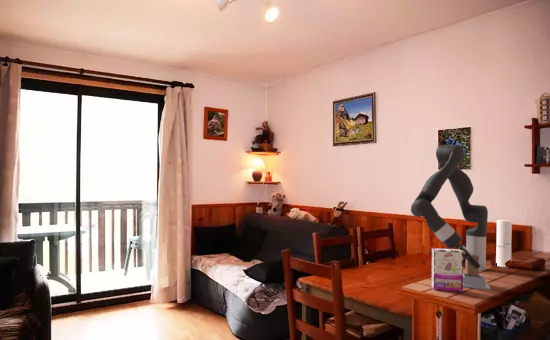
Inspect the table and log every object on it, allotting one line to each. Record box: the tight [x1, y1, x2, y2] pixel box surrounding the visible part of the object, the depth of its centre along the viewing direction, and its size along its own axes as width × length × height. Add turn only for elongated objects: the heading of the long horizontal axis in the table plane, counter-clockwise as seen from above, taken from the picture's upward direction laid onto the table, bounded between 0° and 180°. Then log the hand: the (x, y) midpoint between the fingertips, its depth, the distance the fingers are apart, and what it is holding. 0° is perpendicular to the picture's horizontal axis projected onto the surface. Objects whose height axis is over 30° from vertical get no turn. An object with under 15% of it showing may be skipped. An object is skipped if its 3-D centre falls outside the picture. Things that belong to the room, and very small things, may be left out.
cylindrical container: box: [495, 219, 513, 268], centre depth 215 cm, size 7×7×25 cm
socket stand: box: [463, 272, 491, 291], centre depth 168 cm, size 12×12×4 cm
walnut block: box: [466, 255, 479, 277], centre depth 168 cm, size 4×4×8 cm
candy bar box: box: [431, 247, 464, 293], centre depth 159 cm, size 11×5×16 cm, turn 80°
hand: (477, 266), depth 168 cm, fingers closed on walnut block, 4 cm apart
